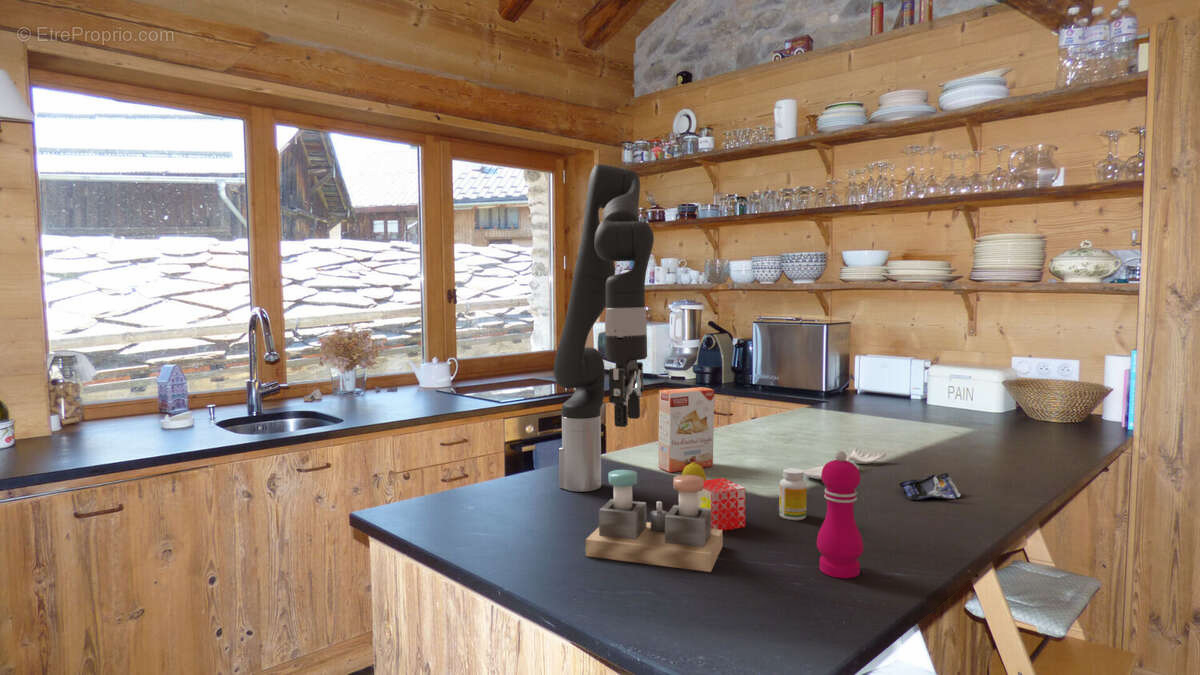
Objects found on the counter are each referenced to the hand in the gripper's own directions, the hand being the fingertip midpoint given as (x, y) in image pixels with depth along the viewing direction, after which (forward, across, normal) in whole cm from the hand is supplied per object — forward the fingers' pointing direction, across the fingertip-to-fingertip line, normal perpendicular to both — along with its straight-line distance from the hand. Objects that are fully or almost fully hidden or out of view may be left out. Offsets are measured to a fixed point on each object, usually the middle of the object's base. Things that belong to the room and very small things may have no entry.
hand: (627, 422), depth 123 cm
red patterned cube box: (+23, -16, +14) cm, 31 cm away
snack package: (+24, -48, +56) cm, 77 cm away
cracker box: (+22, -58, -1) cm, 62 cm away
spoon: (+23, -66, +38) cm, 80 cm away
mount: (+23, +2, +5) cm, 23 cm away
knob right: (+16, +2, +11) cm, 20 cm away
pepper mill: (+24, +1, +36) cm, 43 cm away
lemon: (+23, -32, +6) cm, 40 cm away
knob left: (+16, +1, -1) cm, 16 cm away
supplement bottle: (+23, -25, +28) cm, 44 cm away
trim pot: (+20, -1, +5) cm, 20 cm away
